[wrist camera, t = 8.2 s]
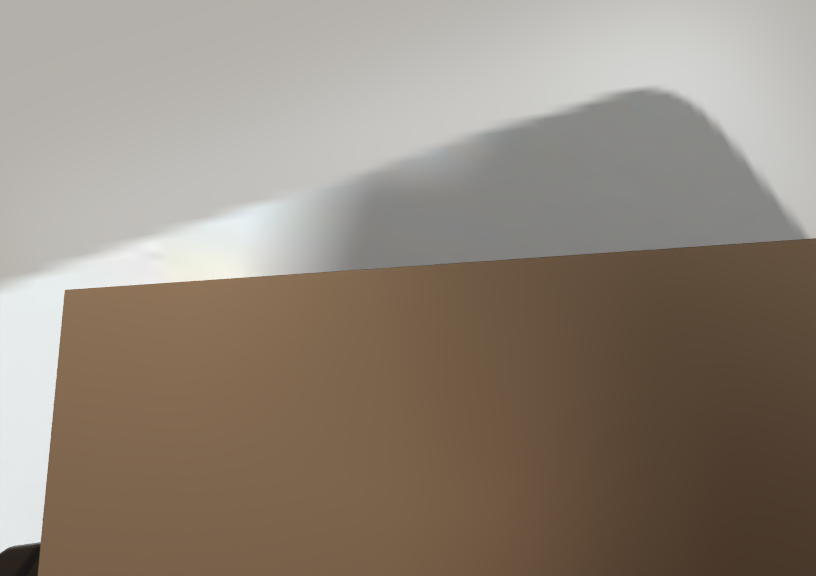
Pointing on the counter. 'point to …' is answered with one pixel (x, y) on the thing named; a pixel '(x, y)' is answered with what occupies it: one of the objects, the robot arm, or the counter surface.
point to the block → (444, 420)
